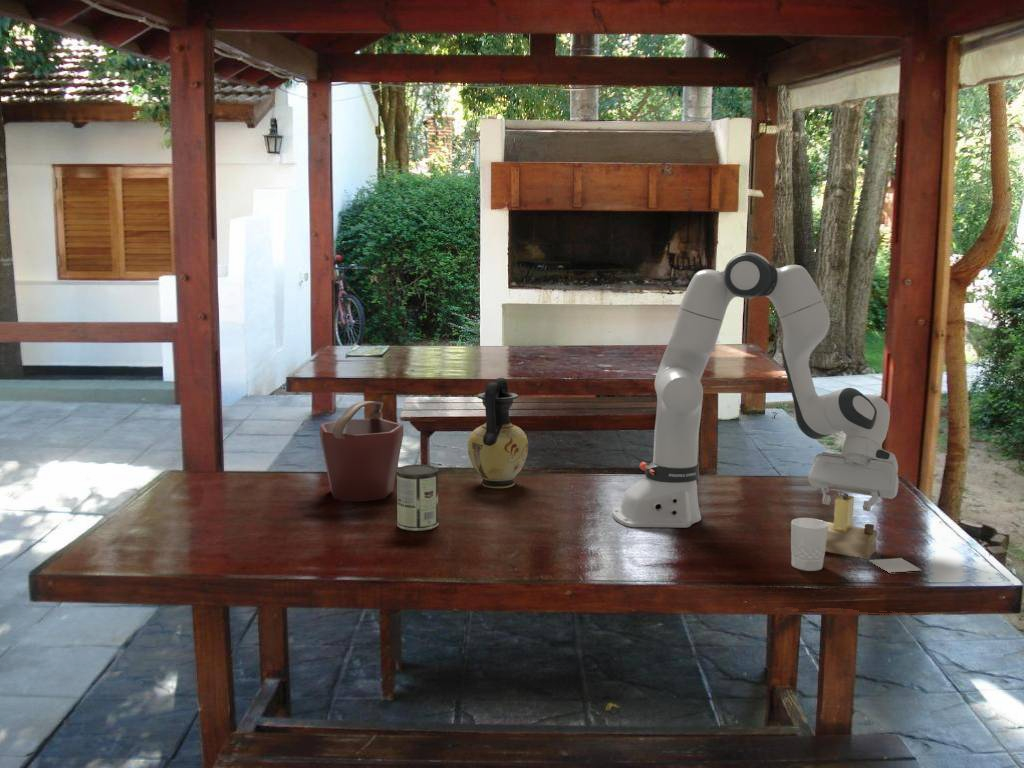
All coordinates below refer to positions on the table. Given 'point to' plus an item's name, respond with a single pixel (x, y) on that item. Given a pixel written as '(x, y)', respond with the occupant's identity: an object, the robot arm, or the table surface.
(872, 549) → the body
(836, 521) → the brass knob block
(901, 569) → the mat
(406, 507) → the coffee can
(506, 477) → the amphora
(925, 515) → the table surface
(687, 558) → the table surface
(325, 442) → the bucket
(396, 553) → the table surface
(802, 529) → the white cup
